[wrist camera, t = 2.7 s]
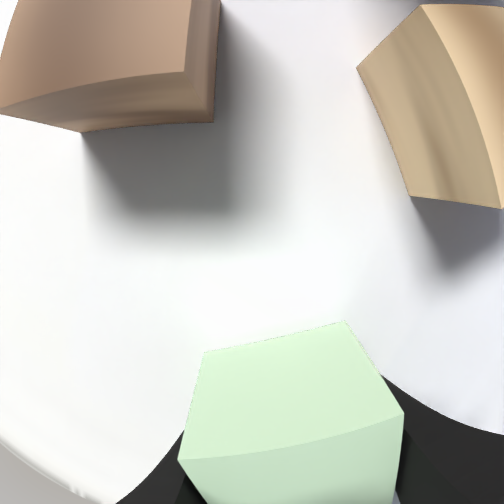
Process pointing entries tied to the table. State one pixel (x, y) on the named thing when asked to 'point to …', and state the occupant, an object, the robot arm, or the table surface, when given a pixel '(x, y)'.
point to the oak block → (444, 101)
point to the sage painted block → (293, 423)
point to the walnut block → (110, 63)
